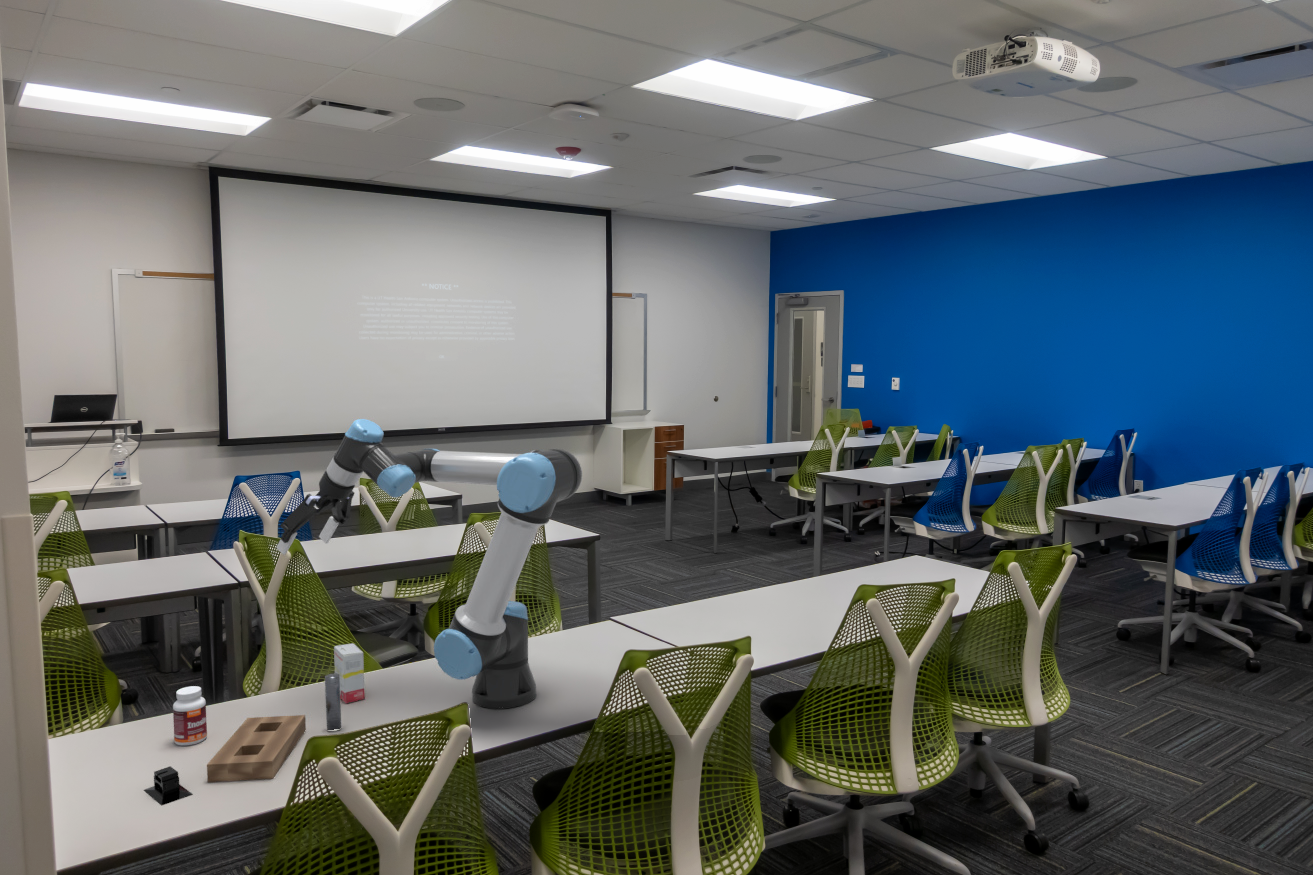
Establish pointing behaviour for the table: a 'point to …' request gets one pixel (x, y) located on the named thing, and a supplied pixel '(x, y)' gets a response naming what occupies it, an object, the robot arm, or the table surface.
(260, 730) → the socket block
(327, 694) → the pin
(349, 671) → the ink box
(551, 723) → the table surface
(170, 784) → the black stepped mount
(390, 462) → the robot arm
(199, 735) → the pill bottle
